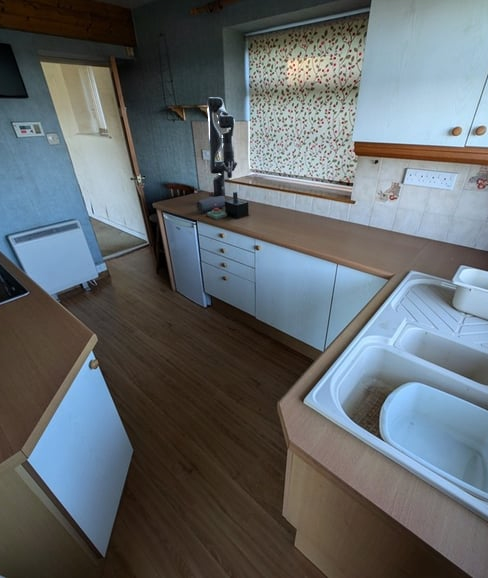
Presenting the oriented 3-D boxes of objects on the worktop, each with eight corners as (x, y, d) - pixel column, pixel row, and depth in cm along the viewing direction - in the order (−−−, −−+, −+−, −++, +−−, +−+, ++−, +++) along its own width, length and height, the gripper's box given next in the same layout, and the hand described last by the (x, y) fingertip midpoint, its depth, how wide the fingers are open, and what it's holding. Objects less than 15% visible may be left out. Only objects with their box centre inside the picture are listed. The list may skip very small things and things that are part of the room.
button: (213, 211, 216) (212, 208, 215) (217, 210, 218) (216, 207, 217) (215, 212, 213) (215, 209, 212) (219, 211, 215) (219, 208, 214)
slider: (233, 199, 217) (232, 192, 215) (235, 198, 219) (235, 191, 216) (235, 199, 216) (234, 192, 213) (237, 199, 217) (237, 192, 215)
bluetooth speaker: (203, 215, 219) (202, 201, 214) (196, 212, 225) (195, 199, 220) (227, 209, 232) (226, 196, 227) (220, 206, 238) (219, 194, 233)
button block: (206, 215, 218) (206, 210, 216) (217, 212, 224) (217, 207, 222) (216, 219, 211) (215, 213, 209) (227, 216, 216) (226, 210, 214)
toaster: (225, 214, 220) (224, 201, 214) (236, 211, 226) (236, 198, 221) (237, 219, 210) (236, 204, 205) (249, 215, 217) (248, 201, 212)
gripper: (232, 149, 200) (233, 175, 209) (216, 150, 192) (218, 178, 201) (239, 150, 195) (240, 177, 204) (223, 151, 187) (225, 180, 196)
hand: (229, 177), depth 203 cm, fingers closed
